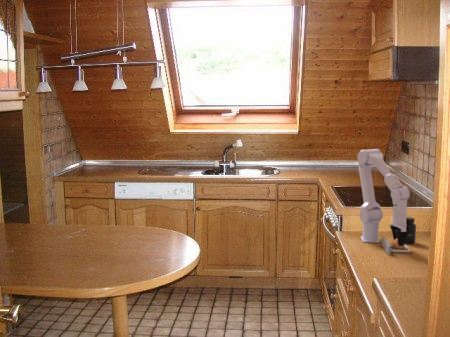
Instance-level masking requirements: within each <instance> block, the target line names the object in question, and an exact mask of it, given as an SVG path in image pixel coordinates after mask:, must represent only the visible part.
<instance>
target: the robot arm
mask: <svg viewBox="0 0 450 337" xmlns="http://www.w3.org/2000/svg"><path fill="white" fill-rule="evenodd" d="M356 157H357V162H358V172H359V179H360V186H361V192H362V199H363V204H362V205H360V207H359V218H360V220H361V223H362V235H361V236H360V239H361V241H362V242H363V243H381V240H380V239H379V234H380V233H379V232H380V230H379V228H380V226H379V225H380V223H381V220H383V217H384V216H383V215H384V213H383V211H382V208H381V205H380V204H379V202H377V201H376V195H375V188H374V182H373V176H372V168H373V167H374V166H375V167H376V168H377V170H378V171H379V172H380V174H382V176H383V177H384V179H383V181H384V183H385V185H386V186H387V188H388V189H389V191H390V197H391V199H392V201H391V202H392V205H393V209H392V222H390V223H389V227H390V229H391V230H390V231H391V232H392V239H393V241H394V240H395V239H396V238H398V245H399V246H404V245H405V244H404V243H405V240H406V237H407V235H408V234H409V231H406V226H407V224H406V217H407V215H408V214H407V212H408V210H407V209H408V199H409V198H410V197H411V191H410V188H409V187H407V186H405V185H404V184H403V183H402V182H401V181H400V179H399V178H398V175H397V174H395V173H392V172H391V170H390V169H389V166H387V163H386V162H385V161H384V154H383V153H382V151H381V150H380V149H379V148H372V149H361V150H360V151H359V152H358V154H357V156H356Z"/></svg>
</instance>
